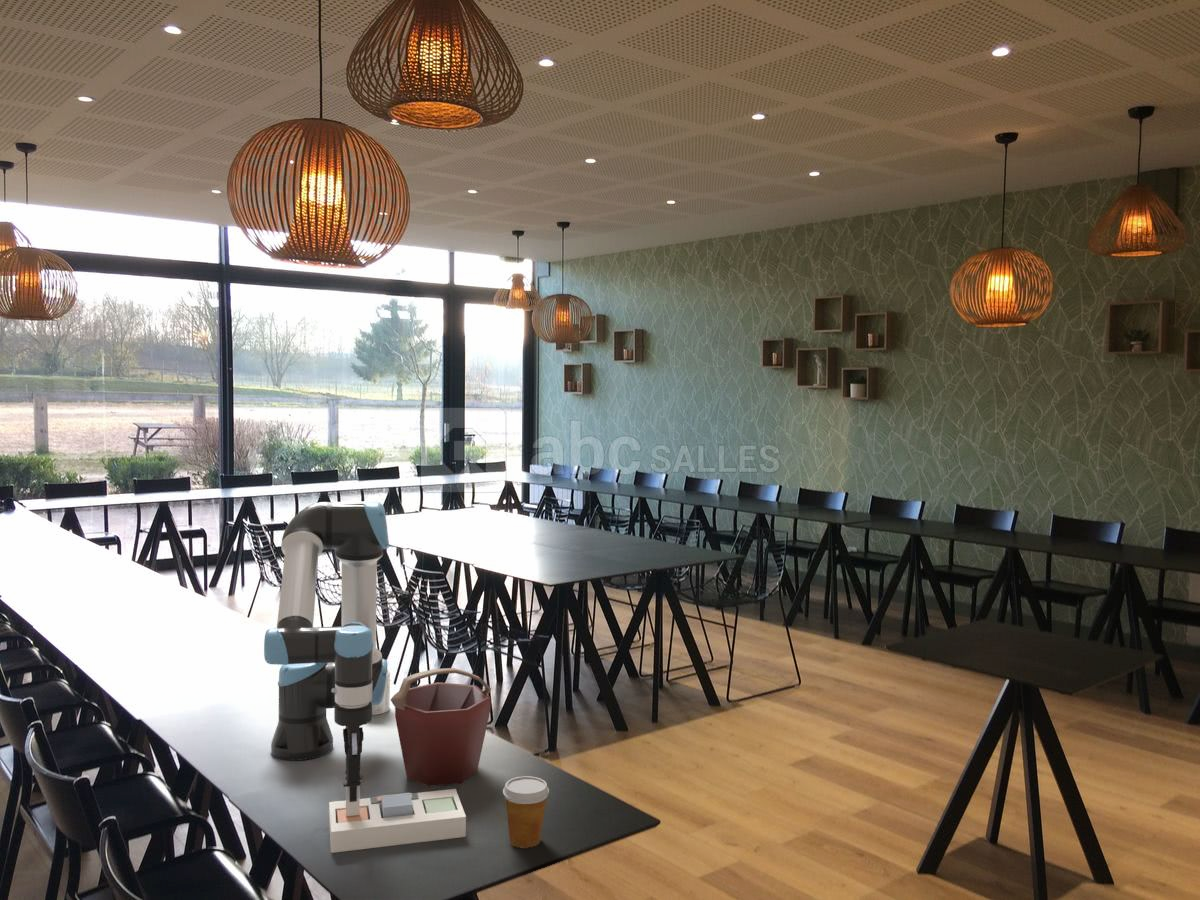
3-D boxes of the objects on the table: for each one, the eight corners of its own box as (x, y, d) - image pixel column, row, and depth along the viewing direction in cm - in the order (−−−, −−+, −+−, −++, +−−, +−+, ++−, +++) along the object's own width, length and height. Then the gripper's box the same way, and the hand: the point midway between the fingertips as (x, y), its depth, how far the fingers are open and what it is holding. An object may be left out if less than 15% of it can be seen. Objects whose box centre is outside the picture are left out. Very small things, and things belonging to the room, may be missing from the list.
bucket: (391, 794, 215) (392, 687, 214) (386, 757, 236) (387, 659, 235) (497, 785, 222) (499, 681, 220) (483, 749, 243) (485, 654, 241)
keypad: (329, 821, 201) (329, 800, 201) (455, 807, 209) (455, 786, 209) (330, 852, 188) (331, 829, 188) (465, 836, 196) (466, 814, 196)
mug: (396, 705, 275) (396, 667, 275) (383, 719, 263) (383, 680, 263) (361, 702, 276) (361, 666, 276) (346, 717, 264) (346, 678, 264)
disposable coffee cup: (548, 830, 200) (549, 775, 199) (547, 852, 190) (548, 794, 189) (503, 830, 199) (504, 775, 198) (500, 852, 190) (501, 794, 189)
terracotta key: (337, 821, 198) (337, 810, 198) (366, 818, 199) (366, 806, 199) (338, 834, 192) (338, 822, 192) (368, 831, 194) (368, 819, 194)
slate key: (380, 807, 200) (381, 795, 200) (409, 803, 202) (409, 792, 202) (383, 819, 195) (383, 807, 194) (412, 816, 196) (412, 804, 196)
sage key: (423, 812, 203) (423, 800, 203) (451, 809, 205) (451, 797, 205) (427, 824, 197) (427, 812, 197) (455, 821, 199) (455, 809, 199)
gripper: (333, 694, 199) (332, 802, 200) (335, 714, 187) (334, 830, 188) (370, 691, 201) (369, 799, 203) (374, 711, 189) (373, 826, 190)
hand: (352, 814), depth 195 cm, fingers closed
